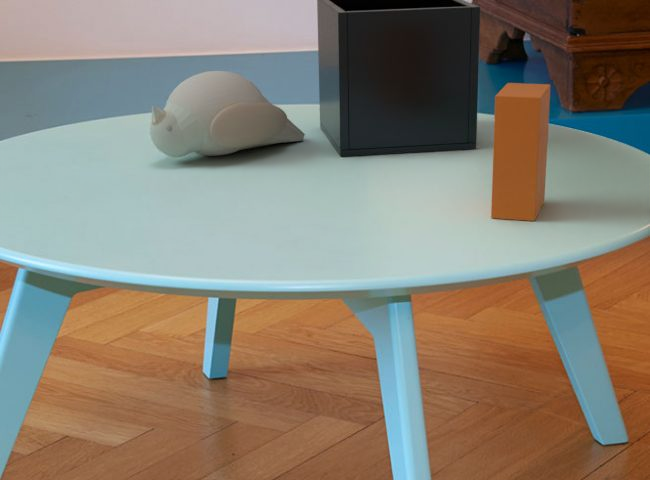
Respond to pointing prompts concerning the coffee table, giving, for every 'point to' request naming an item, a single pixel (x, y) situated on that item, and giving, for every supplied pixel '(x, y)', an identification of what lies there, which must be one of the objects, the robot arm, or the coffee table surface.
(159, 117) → the decorative bird
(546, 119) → the orange tall block
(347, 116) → the dark grey square box
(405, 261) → the coffee table surface
